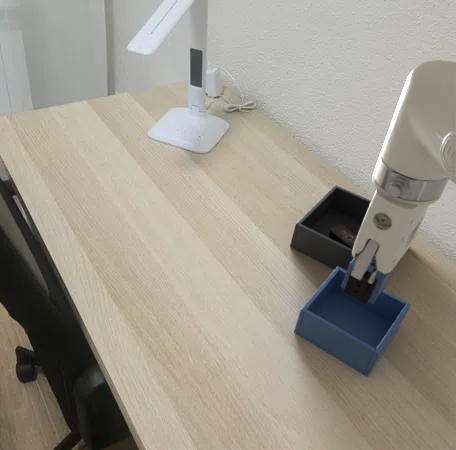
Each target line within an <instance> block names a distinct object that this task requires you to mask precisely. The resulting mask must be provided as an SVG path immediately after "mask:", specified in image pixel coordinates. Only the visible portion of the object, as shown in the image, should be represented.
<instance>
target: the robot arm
mask: <svg viewBox="0 0 456 450" xmlns="http://www.w3.org/2000/svg"><path fill="white" fill-rule="evenodd" d="M383 142H384V143H383V145H382V148H381V151H380V153H379V156H378V157H377V161H376V163H375V167H374V169H373V172H372V175H371V181H372V184H373V186H374V187H375V188H376V190H375V192H374V194H373V196H372V199H371V200H370V201H371V203H370V204H369V208H368V210H367V213H366V215H365V217H364V220H363V222H362V225H361V227H360V230H359V232H358V235H357V238H356V240H355V243H354V246H353V250H352V256H353V258H354V259H355V258H357V261H356V263H355V265H354V267H353V269H352V271H351V273H350V276H349V279H348V281H347V284H346V286H345V289H344V292H345V293H347V294H349V295H350V296H352V297H354V298H356V299H358V300H360V301H361V302H363V303H367V302H368V300H369V299H370V296H371V294H372V292H373V289H374V287H375V285H376V282H377V281H376V280H375V278H376V276H377V274H378V272H379V271H380V272H382V273H384V274H386V273H389V272H391V271H392V270H393V268H394V267H395V268H396V266H397V264H399V262H400V261H401V260H402V258H403V257H404V255H405V254H406V252H407V251H408V249H409V248H410V247H411V246H412V244H413V242H414V241H415V239H416V237H417V235H418V233H419V230H420V228H421V226H422V223H423V220H424V218H425V216H426V213H427V211H428V209H429V206H430V205H432V204H435V203H436V202H437V201H439V200H440V199H441V196H442V195H443V193H444V191H445V188H446V186H447V184H448V182H449V181H451V182H452V183H453V184H455V185H456V61H451V60H443V59H441V60H439V59H437V60H427V61H425V62H421V63H419V64H418V65H416V66H414V68H413V69H412V70H411V71H410V72H409V74H408V76H407V77H406V81H405V83H404V85H403V88H402V92H401V94H400V97H399V100H398V102H397V105H396V107H395V111H394V113H393V117H392V119H391V122H390V125H389V128H388V130H387V133H386V136H385V139H384V141H383ZM375 256H376V258H374V257H375ZM370 265H372V266H374V269H373V271H372V273H371V272H369V271H367V270H368V268H369V266H370ZM395 268H394V269H395ZM393 271H394V270H393Z"/></svg>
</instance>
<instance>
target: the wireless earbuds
mask: <svg viewBox="0 0 456 450" xmlns="http://www.w3.org/2000/svg"><path fill="white" fill-rule="evenodd" d="M328 238H330V239H332V240H334V241H336V242H338V243H340V244H342V245H344V246H346V247H348V248H350V249H352V250H353V246H354V243H355V240H356V238H357V236H356V235H355V234H353V233H352V232H351V231H350V230H348V229H347V228H346V227H344V226H343V225H338V226H336V227H333V228H331V230H330V233H329V236H328Z"/></svg>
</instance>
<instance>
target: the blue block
mask: <svg viewBox="0 0 456 450" xmlns="http://www.w3.org/2000/svg"><path fill="white" fill-rule="evenodd" d="M374 258H376V256H375V257H374ZM356 261H357V258H355V259H353V260H352V261H351V262H350V264H349V267H348V269H347V272H346V275H345V277H344V280H343V283H342V285H341V287H342V288H344V289H345V286H346V284H347V281H348V279H349V276H350V273H351V271H352V269H353V267H354V265H355V263H356ZM395 268H396V266H395V267H394V268H393V270H392V271H391V272H389V273H386V274H384V273H382V272H380V271H379V272H378V274H377V276H376V278H375V280H376V281H377V282H376V285H375V287H374V289H373V292H372V294H371V296H370V299H369V300H368V302H370V303H371V304H373V303H374V302H375V301H376V299H377V298H378V296H379V295H380V294H381V292H382V291H383V290H385V288H386V287H387V285H388V283H389V281H390V279H391V276H392V274H393V273H394V270H395ZM373 269H374V266H372V265H370V266H369V268H368V270H367V271H369V272H371V273H372V271H373Z"/></svg>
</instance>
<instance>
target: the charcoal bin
mask: <svg viewBox="0 0 456 450" xmlns="http://www.w3.org/2000/svg"><path fill="white" fill-rule="evenodd" d="M371 201H372V200H370V199H368V198H366V197H363V196H362V195H359V194H356V193H355V192H352V191H350V190H348V189H346V188H344V187H341V186H338V185H336V184H335V185H334V186H332V188H331V189H330V190H328V191H327V192H326V194H324V195H323V196H322V197H321V199H319V200H318V201H317V202H316V203H315V205H313V206H312V207H311V208H310V209H309V210H308V212H307V213H305V214H304V215H303V216H302V217H301V218H300V219H299V220H298V221H297V222H296V223H295V225H294V230H293V233H292V237H291V240H290V244H289V247H290V248H292V249H294V250H296V251H298V252H300V253H302V254H304V255H306V256H308V257H309V258H312V259H313V260H316V261H317V262H319V263H321V264H323V265H325V266H326V267H328V268H330V269H332V270H333V271H334V270H335V269H336V268H337V266H338V267H340V268H342V269H344V270H346V271H347V269H348V267H349V264H350V262H351V261H352V260H353V259H354V258H353V256H352V249H350V248H348V247H346V246H344V245H342V244H340V243H338V242H336V241H334V240H332V239H330V238H328V236H329V233H330V230H331V228H333V227H336V226H338V225H343V226H344V227H346V228H347V229H348V230H350V231H351V232H352V233H353V234H355V235H356V236H357V235H358V232H359V230H360V227H361V225H362V222H363V220H364V217H365V215H366V213H367V210H368V208H369V204H370V203H371Z"/></svg>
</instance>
